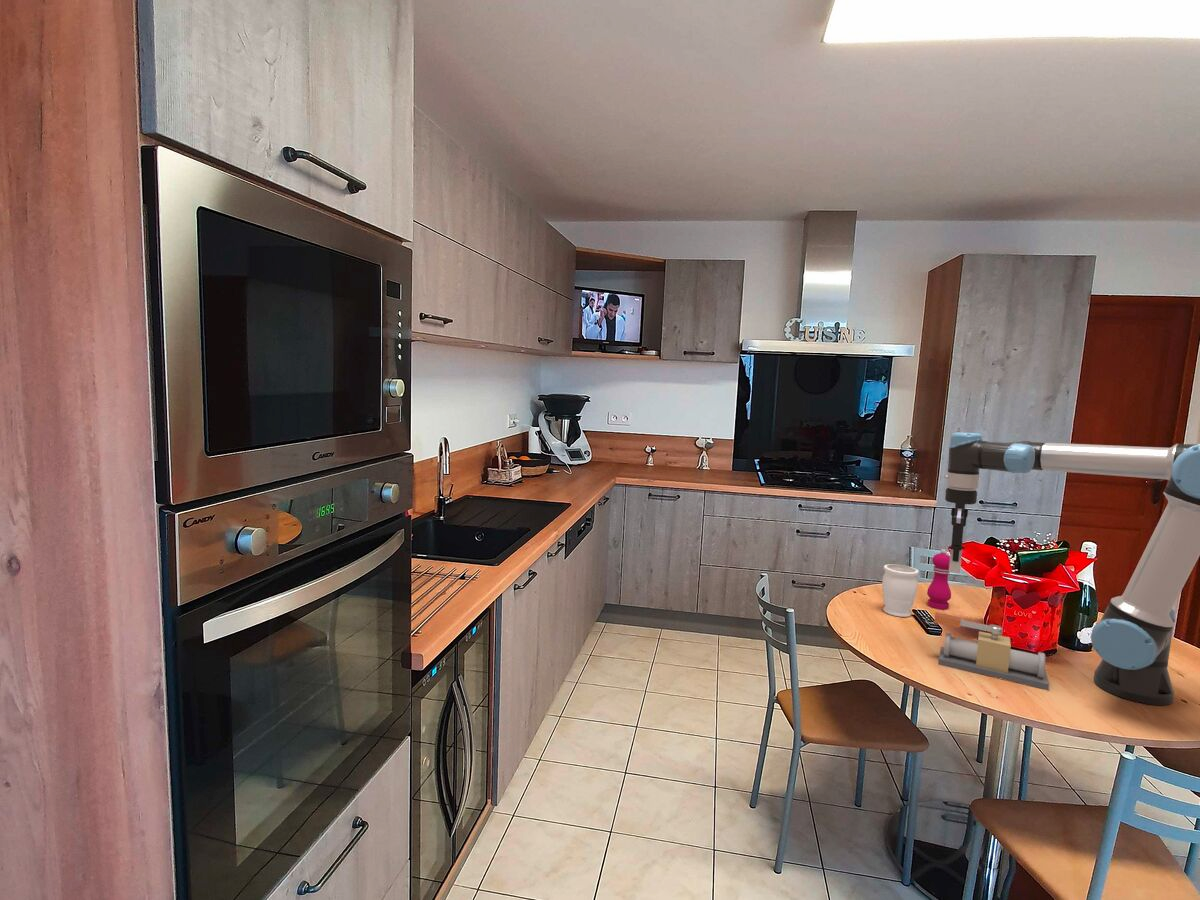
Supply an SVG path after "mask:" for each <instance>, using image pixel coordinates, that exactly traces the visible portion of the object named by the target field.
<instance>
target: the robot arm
mask: <svg viewBox="0 0 1200 900" xmlns="http://www.w3.org/2000/svg"><path fill="white" fill-rule="evenodd" d="M949 441H950V442H949V447H948V464H947V474H946V475H945V474H944V479H947V480H946V486H947V488H946V489H945V495H944V496H945V498H944V500H945V501H946V502H948V503H950V504H954V506H955V507H951V512H950V515H951V525H952V533H951V534H952V536H951V545H949V546H948V550H950V554H949V556H950V564H949V572H950V573H954V574H960V573H961V569H962V568H961V567H962V555H963V550H965V549H966V546H963V545H964V544H963V543H964V542H963V538H964V536H963V535H964V527H966V525H967V518H968V515H969V514H968V513H969V509H967V508H966V505H975V504H976V503H977V499H978V491H977V489H978V488H979V480H980V470H990V471H998V472H1008V473H1012V474H1015V473H1016V474H1027V473H1030V472H1031V470H1033V471H1050V472H1061V473H1062V472H1064V473H1073V474H1075V473H1076V474H1077V473H1078V474H1089V475H1099V476H1100V475H1102V476H1103V475H1104V476H1115V477H1130V478H1140V479H1141V478H1143V479H1144V478H1145V479H1156V480H1167V481H1168V483H1167V484H1166V486H1165V488H1164V490H1163V492H1162V493H1163V495H1164V496H1165V499H1166V500H1167V504H1166V506H1165V509H1164V510H1163V512H1162V514H1161V517H1160V518H1159V521H1158V522H1157V524H1156V527H1154V528H1155V529H1154V530H1153V533H1152V535H1151V536H1150V539H1149V540H1148V542H1147V545H1146V547H1145V549H1144V551H1143V553H1142V555H1141V557H1140V559H1139V561H1138V563H1137V565H1136V567H1135V570H1134V571H1133V573H1132V575H1131V577H1130V579H1129V581H1128V583H1127V585H1126V588H1125V590H1124V591H1123V593H1122V595H1118V596H1115V597H1112V598H1111V599H1110V601H1109V602H1108V604H1107V606H1106V608H1105V610H1104V612H1103V615H1102V617H1101V619H1100V620H1099V621H1098V622H1097V623H1096V624H1095V625H1094V626H1093V627H1092V630H1091V636H1090V639H1091V640H1090V642H1091V645H1092V646H1093V647H1092V648H1093V649H1094V651H1095V652H1096V654H1097V655H1098V656H1099V657H1100V658H1101V660H1100V662H1099V664H1098V665H1097V667H1096V668H1095V670H1094V675H1093V682H1094V684H1095V685H1096V686H1097V687H1099V688H1100V689H1102V690H1104V691H1106V692H1107V693H1110V694H1112V695H1114V696H1117V697H1120V698H1123V699H1126V700H1129V701H1133V702H1137V703H1141V704H1146V705H1153V706H1168V705H1171V704H1172V703H1173V702H1174V695H1175V691H1174V689H1173V688H1174V687H1173V684H1172V682H1171V681H1172V680H1171V677H1170V674H1169V670H1168V665H1169V659H1170V651H1171V646H1172V645H1171V644H1172V636H1173V630H1174V626H1175V622H1176V619H1175V617H1176V616H1175V610H1174V609H1173V608H1174V605H1175V604H1176V602H1177V599H1178V598H1179V596H1180V594H1181V592H1182V590H1183V588H1184V586H1185V584H1186V583H1187V581H1188V579H1189V577H1190V575H1191V573H1192V571H1193V569H1194V568H1195V565H1196V563H1197V562H1198V560H1199V557H1200V443H1175V444H1174V445H1172V446H1171V447H1159V446H1156V447H1155V446H1132V445H1113V444H1110V445H1109V444H1107V445H1106V444H1089V443H1087V444H1086V443H1066V442H1065V443H1064V442H1063V443H1061V442H1060V443H1059V442H1041V441H1040V442H1039V441H1038V442H1037V441H1030V440H1023V441H1022V440H1021V441H1018V442H1017V441H1016V442H1000V441H999V442H997V441H986V440H984V439H983V435H982V434H981V433H978V432H977V433H974V432H962V431H961V432H960V431H959V432H958V431H956V432H953V433H952V434H951V436H950V440H949Z"/></svg>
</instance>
